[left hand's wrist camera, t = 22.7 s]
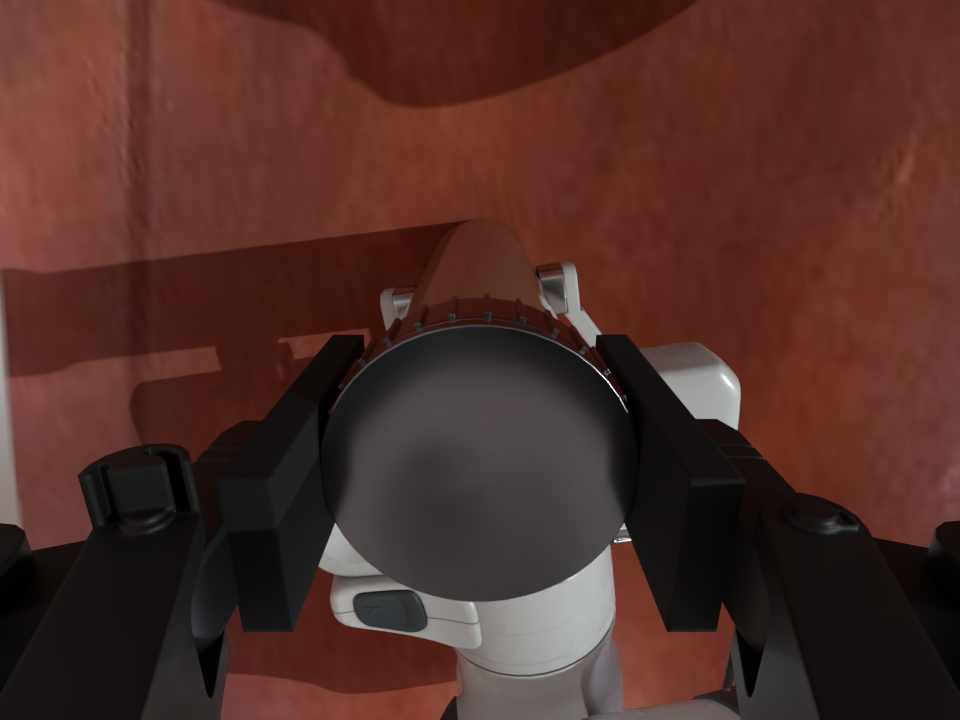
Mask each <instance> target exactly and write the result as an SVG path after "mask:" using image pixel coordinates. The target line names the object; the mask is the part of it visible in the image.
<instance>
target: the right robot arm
mask: <svg viewBox="0 0 960 720" xmlns="http://www.w3.org/2000/svg"><path fill="white" fill-rule="evenodd" d="M536 274H537V276H538V278H539V280H540V282H541V284H542V287H543V289H544V291H545V293H546V295H547V297H548V299H549V301H550V303H551V305H552V307H553V309H554V312H555V314H561V313H564V314H565V316H566V317H567V318H568V320H569V321H570V322H571V323H572V325H573V326H574V327H576V329H577V331H578V332H579V334H580V335H581V338H582V339H583V340H584V341H585V343H586V344H587V345H588V346H589V347H590V348H591V347H592V346H594V347H595V344H596V335H602V333H601V332H600V330H599V329H598V328H597V327H596V325H595V324H594V323H593V321H592V320H591V319H590V317H589V316H588V315H587V313H586V312H585V311H584V309H583V308H582V307H581V305H580V302H579V292H578V281H577V273H576V269H575V265H574V264H573V263H572V262H571V261H563V262H557V263H551V264H545V265H539V266H536ZM417 286H418V284H417V285H409V286H402V287H393V288H388V289H384V290H383V292H382V293H381V295H380V303H381V310H382V314H383V319H384V323H385V328H386V330H388V329H389V328H390V327H391V325H392V323H393V321H394V319H396V318H397V317H399V319H400V320H401V319H402V317H403V315H404V313H405V311H406V309H407V307H408V305H409V303H410V300H411V298H412V296H413V294H414V292H415V290H416V288H417ZM639 351H640V352H641V353H642V354H643V355H644V357H645V358H646V359H647V360H648V361H649V363H650V364H651V365H652V366H653V368H654V369H655V370H656V371H657V372H658V374H659V375H660V376H661V377H662V378H663V380H664V381H665V382H666V383H667V385H668V386H669V387H670V388H671V389H672V391H673V392H674V393H675V394H676V395H677V397H678V398H679V399H680V400H681V402H682V403H683V404H684V405H685V406H686V408H687V409H688V410H689V411H690V412H691V414H692V415H693V416H694V417H695V419H718V420H720V421H721V422H723V423H725V424H727V425H729V426H730V427H732V428H734V429H736V430H738V421H739V411H740V395H741V390H740V383H739V380H738V378H737V377H736V375H735V373H734V372H733V371H732V370H731V369H730V368H729V367H728V366H727V365H726V364H725V363H724V362H723V361H722V360H721V359H720V358H719V357H718V356H717V355H715V354H714V353H712V352H711V351H710V350H708V349H707V348H705V347H704V346H703V345H701V344H699V343H697V342H683V343H677V344H670V345H663V346H656V347H649V348H642V349H639ZM629 541H631V539H630V536H629V533H628V531H627V528H626V526H625V523H624V524H623V525H622V527H621V529H620V530H619V532H618V533H617V535H616V537H615V538H614V539H613V540H612V542H611V543H610V544H609V545H608V546H607V548H606V549H605V550H604V551H603V552H602V553H601V554H600V555H599V556H598V557H597V558H596V559H595V560H594V561H593V562H592V563H590V564H589V565H588V566H586V567H585V568H584V569H582V570H581V571H580V572H578V573H577V574H576V575H574V576H572V577H570V578H569V579H567V580H565V581H564V582H562V583H560V584H558V585H555V586H553V587H551V588H549V589H546V590H544V591H541V592H538V593H535V594H532V595H529V596H525V597H520V598H516V599H511V600H504V601H494V602H465V601H456V600H448V599H444V598H439V597H435V596H431V595H428V594H425V593H422V592H418V591H415V590H413V589H411V588H409V587H406V586H404V585H402V584H400V583H398V582H396V581H394V580H392V579H391V578H389V577H387V576H386V575H384V574H382V573H381V572H380V571H378V570H377V569H376V568H374V567H373V566H372V565H370V564H369V563H368V562H367V561H366V560H365V559H364V558H363V557H362V556H360V555H359V554H358V553H357V552H356V551H355V550H354V549H353V547H352V546H351V545H350V543H349V542H348V541H347V540H346V538H345V537H344V536H343V535H342V533H341V531H340V530H339V528H338V526H337V525H336V523H335V525H334V527H333V530H332V533H331V535H330V538H329V540H328V543H327V545H326V548H325V550H324V553H323V555H322V558H321V560H320V563H319V566H318V567H320V568H321V569H323V570H325V571H327V572H329V573H332V574H334V577H333V582H332V588H331V594H330V604H331V608H332V611H333V614H334V616H335V617H336V619H337V620H338V621H339V622H341V623H342V624H344V625H347V626H351V627H356V628H363V629H371V630H379V631H386V632H393V633H399V634H405V635H410V636H415V637H420V638H424V639H428V640H432V641H436V642H439V643H443V644H446V645H449V646H452V647H453V648H454V650H455V652H456V654H457V656H458V659H457V666H456V677H457V686H458V693H459V696H458V697H456V696H454V698H453V699H452V700H451V701H450V703H449V704H448V706H447V708H446V709H445V711H444V713H443V715H442V717H441V719H440V720H740V713H739V706H738V699H737V692H736V686H733V687H732V688H731V692H730V691H726V690H723V689H721V690H717V691H714V692H710V693H706V694H702V695H699V696H696V697H694V698H693V699H692V700H690V701H683V702H677V703H670V704H663V705H657V706H650V707H643V708H637V709H630V710H623V682H622V668H621V662H620V656H619V652H618V648H617V646H616V643H615V640H614V638H613V636H612V630H613V626H614V622H615V612H616V604H615V590H614V579H613V568H612V556H611V549H610V546H611V545H612V543H621V542H629Z"/></svg>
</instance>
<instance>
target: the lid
mask: <svg viewBox="0 0 960 720" xmlns="http://www.w3.org/2000/svg"><path fill="white" fill-rule="evenodd" d="M339 389H341V391H340V392H339V394H338V396H337V397H336V399H335V401H334V402H333V404H332V406H331V407H330V409H329V411H328V413H327V417H329V418H328V420H327V423H326V426H325V429H324V433H323V438H322V443H321V448H320V467H321V476H322V485H323V492H324V495H325V499H326V503H327V505H328V508H329V510H330V512H331V515H332V517H333V519H334V521H335V523H336V525H337V526H338V528H339V530H340V531H341V533H342V535H343V536H344V537H345V538H346V540H347V541H348V542H349V543H350V545H351V546H352V547H353V549H354V550H355V551H356V552H357V553H358V554H359V555H360V556H362V557H363V558H364V559H365V560H366V561H367V562H368V563H369V564H370V565H372V566H373V567H374V568H376V569H377V570H378V571H380V572H381V573H382V574H384V575H386V576H387V577H389V578H391V579H392V580H394V581H396V582H398V583H400V584H402V585H404V586H406V587H409V588H411V589H413V590H415V591H418V592H422V593H425V594H428V595H431V596H435V597H439V598H444V599H448V600H456V601H465V602H494V601H504V600H511V599H516V598H520V597H525V596H529V595H532V594H535V593H538V592H541V591H544V590H546V589H549V588H551V587H553V586H555V585H558V584H560V583H562V582H564V581H565V580H567V579H569V578H570V577H572V576H574V575H576V574H577V573H578V572H580V571H581V570H582V569H584V568H585V567H586V566H588V565H589V564H590V563H592V562H593V561H594V560H595V559H596V558H597V557H598V556H599V555H600V554H601V553H602V552H603V551H604V550H605V549H606V548H607V546H608V545H609V544H610V543H611V542H612V540H613V539H614V538H615V537H616V535H617V533H618V532H619V530H620V529H621V527H622V525H623V524H624V522H625V520H626V518H627V516H628V513H629V511H630V509H631V507H632V504H633V500H634V497H635V493H636V490H637V481H638V473H639V446H638V441H637V436H636V431H635V424H634V422H633V420H632V418H631V416H630V413H629V412H628V410H627V408H626V406H625V404H624V401H627V399H626V397H625V395H624V393H623V392H622V390H621V388H620V387H619V385H618V383H617V382H616V380H615V378H614V377H613V375H612V373H611V372H610V370H609V369H608V367H607V366H606V364H605V362H604V361H603V359H602V357H601V356H600V354H599V352H598V351H597V349H596V348H595V347H594V346H592V347H591V348H590V347H589V346H588V345H587V344H586V343H585V341H584V340H583V339H582V338H581V336H580V334H579V332H578V331H577V329H576V327H574V326H573V325H571V326H570V328H569V327H568V326H566V325H565V324H564V323H563V322H561V321H559V320H558V319H556V318H554V317H553V315H552V313H551V311H550V310H548V309H545V311H544V312H543V311H541V310H538V309H536V308H533V307H531V306H528V305H525V304H522V301H521V299H518V298H516V300H515V302H514V301H510V300H503V299H495V298H490V295H489V294H484V298H465V299H458V296H452V299H451V300H450V301H446V302H442V303H438V304H434V305H431V306H429V307H428V306H427V304H423V305H421V308H420V310H419V311H416V312H414V313H412V314H411V315H409V316H407V317H405V318H404V319H402V320H400V319H399V317H397V318H396V319H394V321H393V323H392V325H391V327H390V328H389V329H388V330H386V331H385V332H384V333H383V334H382V335H381V336H380V337H379V338H377V337H375V336H374V337H373V338H372V339H371V341H370V342H369V344H368V346H367V347H366V349H365V351H364V352H363V354H362V356H361V357H360V359H359V360H358V359H356V360H355V362H354V363H353V365H352V367H351V368H350V370H349V371H348V373H347V375H346V376H345V378H344V380H343V381H342V383H341V384H340V386H339Z"/></svg>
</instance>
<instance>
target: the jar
mask: <svg viewBox="0 0 960 720" xmlns="http://www.w3.org/2000/svg"><path fill="white" fill-rule="evenodd" d="M484 294H489V295H490V298H495V299H503V300H510V301H514V302H515V300H516V298H518V299H521V301H522V304H525V305H528V306H531V307H533V308H536V309H538V310H541V311H543V312H544V311H545V309H548V310H550V311H551V313H552V315H553V317H554V318H556V319H558V318H557V316H556V314H555V312H554V309H553V307H552V305H551V303H550V301H549V299H548V297H547V295H546V293H545V291H544V289H543V287H542V284H541V282H540V280H539V278H538V276H537V274H536V272H535V270H534V268H533V266H532V264H531V262H530V260H529V257H528V255H527V253H526V251H525V249H524V247H523V245H522V243H521V242H520V240H519V239H518V237H517V236H516V235H515V234H514V233H513V232H512V231H511V230H509V229H508V228H507V227H505V226H503V225H501V224H499V223H497V222H494V221H490V220H482V219H478V220H470V221H466V222H463V223H460V224H459V225H457V226H455V227H453V228H452V229H450V230H449V231H448V232H447V233H446V234H445V235H444V236H443V237H442V239H441V240H440V241H439V243H438V245H437V247H436V249H435V251H434V253H433V255H432V257H431V259H430V261H429V263H428V265H427V267H426V269H425V272H424V274H423V276H422V278H421V280H420V282H419V284H418V286H417V288H416V290H415V292H414V294H413V296H412V298H411V300H410V303H409V305H408V307H407V309H406V311H405V313H404V315H403V317H402V319H404V318H405V317H407V316H409V315H411V314H412V313H414V312H416V311H419V310H420V308H421V305H423V304H427V306H428V307H429V306H431V305H434V304H438V303H442V302H446V301H450V300H451V299H452V296H458V299H465V298H484ZM402 319H401V320H402Z"/></svg>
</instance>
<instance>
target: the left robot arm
mask: <svg viewBox="0 0 960 720" xmlns="http://www.w3.org/2000/svg"><path fill="white" fill-rule="evenodd" d="M595 348H596V349H597V351H598V352H599V354H600V356H601V357H602V359H603V361H604V362H605V364H606V366H607V367H608V369H609V370H610V372H611V373H612V375H613V377H614V378H615V380H616V382H617V383H618V385H619V387H620V388H621V390H622V392H623V393H624V395H625V397H626V399H627V401H624V404H625V406H626V408H627V410H628V412H629V413H630V416H631V418H632V420H633V422H634V424H635V431H636V436H637V441H638V446H639V473H638V481H637V490H636V493H635V497H634V500H633V504H632V507H631V509H630V511H629V513H628V516H627V518H626V520H625V522H624V523H625V526H626V528H627V531H628V533H629V536H630V539H631V541H632V544H633V546H634V549H635V551H636V554H637V556H638V559H639V561H640V564H641V566H642V569H643V572H644V574H645V577H646V579H647V582H648V584H649V587H650V589H651V592H652V594H653V597H654V599H655V602H656V605H657V607H658V610H659V612H660V615H661V617H662V620H663V622H664V625H665V627H666V630H667V632H716V630H717V625H718V620H719V614H720V609H721V604H722V602H723V604H724V605H725V607H726V609H727V611H728V613H729V615H730V616H731V618H732V620H733V622H734V624H735V628H734V633H733V638H732V642H731V647H730V652H729V657H728V662H727V666H726V671H725V676H724V683H723V690H726V691H730V692H731V688H732V683H733V679H735V685H736V692H737V699H738V706H739V713H740V720H960V521H951V522H944V523H943V524H941V525H940V526H938V527H937V528H936V529H935V532H934V535H933V538H932V541H931V544H930V547H929V548H925V547H920V546H914V545H909V544H904V543H899V542H893V541H888V540H883V539H878V538H874V537H872V535H871V534H870V532H869V530H868V528H867V527H866V526H865V525H864V524H863V522H862V521H861V520H860V519H859V518H858V517H857V516H856V515H854V514H853V513H851V512H850V511H848V510H847V509H845V508H844V507H842V506H841V505H838V504H836V503H833V502H831V501H828V500H826V499H824V498H821V497H817V496H813V495H809V494H804V493H797V492H795V490H794V489H793V488H792V487H791V486H790V485H789V484H788V483H787V482H786V481H785V480H784V479H783V478H782V477H781V476H780V475H779V474H778V472H777V471H776V470H775V469H774V468H773V467H772V466H771V465H770V464H769V463H768V462H767V461H766V460H763V457H762V455H761V454H760V453H759V452H758V451H757V450H756V449H755V448H752V445H751V444H750V443H749V442H748V441H747V440H746V438H745V437H744V436H743V435H742V434H741V433H740V432H739V431H738V430H736V429H734V428H732V427H730V426H729V425H727V424H725V423H723V422H721V421H720V420H718V419H695V417H694V416H693V415H692V414H691V412H690V411H689V410H688V409H687V408H686V406H685V405H684V404H683V403H682V402H681V400H680V399H679V398H678V397H677V395H676V394H675V393H674V392H673V391H672V389H671V388H670V387H669V386H668V385H667V383H666V382H665V381H664V380H663V378H662V377H661V376H660V375H659V374H658V372H657V371H656V370H655V369H654V368H653V366H652V365H651V364H650V363H649V361H648V360H647V359H646V358H645V357H644V355H643V354H642V353H641V352H640V351H639V349H638V348H637V347H636V346H635V344H634V343H633V342H632V341H631V340H630V338H629V337H628V336H627V335H596V344H595ZM364 351H365V348H364V335H333V336H332V337H331V338H330V339H329V340H328V342H327V343H326V344H325V345H324V346H323V348H322V349H321V350H320V351H319V353H318V354H317V355H316V356H315V357H314V359H313V360H312V361H311V362H310V363H309V365H308V366H307V367H306V368H305V370H304V371H303V372H302V373H301V374H300V376H299V377H298V378H297V379H296V380H295V382H294V383H293V384H292V385H291V387H290V388H289V389H288V390H287V391H286V393H285V394H284V395H283V396H282V397H281V399H280V400H279V401H278V402H277V404H276V405H275V406H274V407H273V408H272V410H271V411H270V412H269V413H268V414H267V416H266V417H265V418H264V419H263V421H242V422H240V423H238V424H236V425H235V426H233V427H231V428H229V429H228V430H226V431H224V432H222V433H221V434H220V435H219V436H218V437H217V438H216V439H215V440H214V442H213V443H212V444H211V445H210V446H209V447H208V450H205V451H204V452H203V453H202V454H201V455H200V456H199V458H198V459H197V462H194V463H193V464H191V459H190V454H189V451H187V450H186V449H184V448H183V447H181V446H178V445H172V444H147V445H142V446H137V447H132V448H127V449H124V450H121V451H118V452H115V453H112V454H110V455H107V456H105V457H103V458H101V459H99V460H97V461H95V462H94V463H92V464H90V465H88V466H87V467H86V468H85V469H84V470H83V471H82V472H81V473H80V474H79V475H78V478H79V482H80V485H81V489H82V492H83V495H84V499H85V502H86V506H87V509H88V513H89V516H90V519H91V523H92V526H93V529H92V531H91V533H90V535H89V536H88V538H87V540H84V541H80V542H75V543H70V544H65V545H59V546H54V547H49V548H44V549H39V550H33V551H31V548H30V546H29V543H28V540H27V537H26V534H25V531H24V530H22V529H21V528H19V527H18V526H17V525H12V524H2V523H0V720H220V714H221V707H222V700H223V694H224V687H225V680H226V673H227V666H228V659H229V653H230V652H229V644H228V638H227V633H226V628H225V626H226V624H227V622H228V621H229V619H230V617H231V615H232V613H233V611H234V610H235V608H236V606H237V604H238V606H239V611H240V616H241V622H242V627H243V632H292V631H293V629H294V626H295V624H296V621H297V619H298V616H299V614H300V611H301V609H302V606H303V604H304V601H305V599H306V596H307V593H308V591H309V588H310V586H311V583H312V581H313V578H314V576H315V573H316V571H317V568H318V566H319V563H320V560H321V558H322V555H323V553H324V550H325V548H326V545H327V543H328V540H329V538H330V535H331V533H332V530H333V527H334V525H335V521H334V519H333V517H332V515H331V512H330V510H329V508H328V505H327V503H326V499H325V495H324V492H323V485H322V476H321V467H320V448H321V443H322V438H323V433H324V429H325V426H326V423H327V420H328V418H329V417H327V413H328V411H329V409H330V407H331V406H332V404H333V402H334V401H335V399H336V397H337V396H338V394H339V392H340V391H341V389H339V386H340V384H341V383H342V381H343V380H344V378H345V376H346V375H347V373H348V371H349V370H350V368H351V367H352V365H353V363H354V362H355V360H356V359H358V360H359V359H360V357H361V356H362V354H363V352H364Z"/></svg>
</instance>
